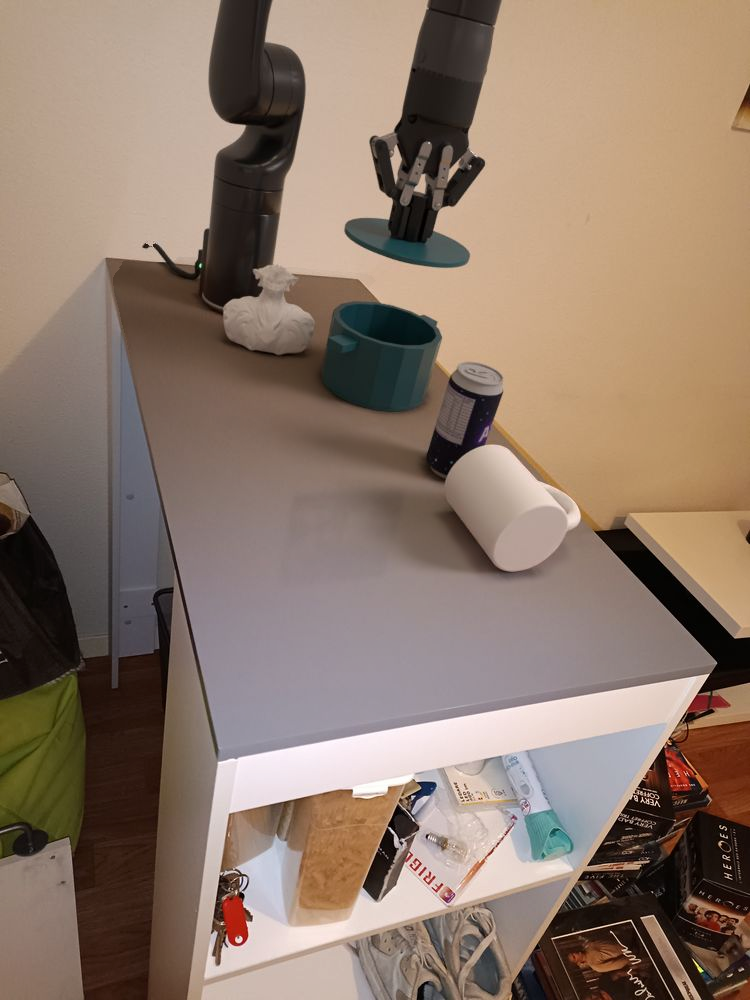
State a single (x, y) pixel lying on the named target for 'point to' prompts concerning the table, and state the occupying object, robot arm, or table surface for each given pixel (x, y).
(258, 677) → the table surface
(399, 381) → the pot
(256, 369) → the table surface
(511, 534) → the mug
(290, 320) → the white tied bag
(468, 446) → the beverage can
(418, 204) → the lid
